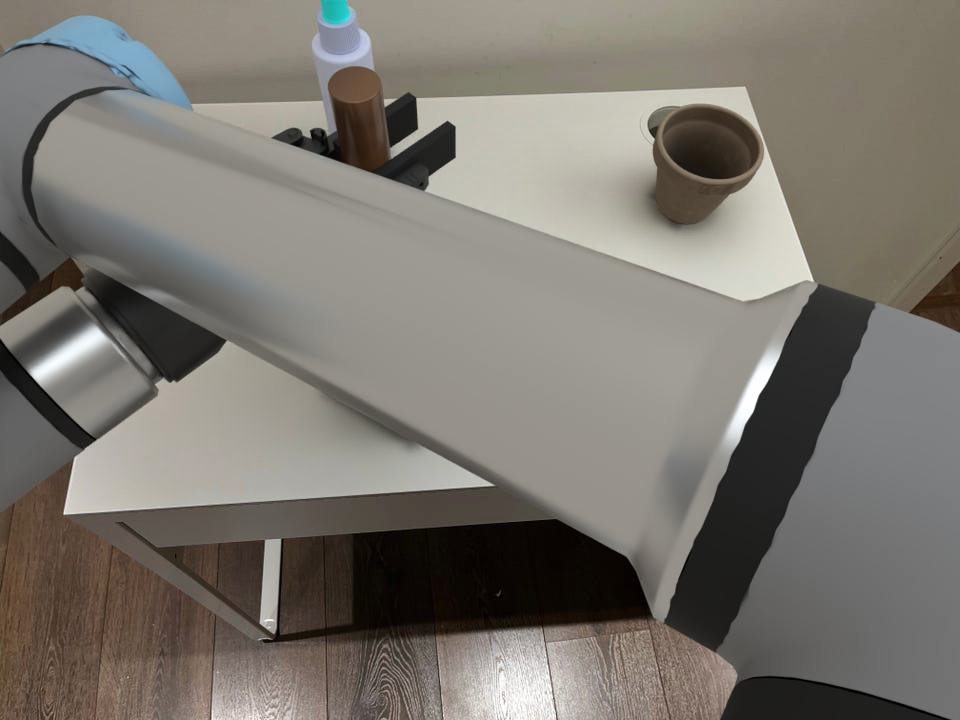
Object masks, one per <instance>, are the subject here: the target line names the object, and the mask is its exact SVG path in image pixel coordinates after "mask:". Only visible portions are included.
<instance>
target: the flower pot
mask: <svg viewBox="0 0 960 720" xmlns="http://www.w3.org/2000/svg"><path fill="white" fill-rule="evenodd" d="M764 157H765V146H764V142H763V139H762V137H761V135H760V133H759V132H758V130H757V128H756V127H755V126H754V125H753V124H752V123H751V122H750V121H748V120H747V119H746V118H745V117H743V116H742V115H740V114H739V113H737V112H736V111H734V110H732V109H729V108H726V107H723V106H720V105H716V104H711V103H690V104H685V105H682V106H679V107H676V108H675V109H673V110H671V111H669V112H668V113H667V114H666V115H665V116H664V117H663V119H662V120H661V121H660V123H659V124H658V127H657V130H656V134H655V137H654V140H653V143H652V158H653V162H654V164H655V166H656V176H655V177H656V179H655V202H656V205H657V207H658V210H659V211H660V212H661V214H663V216H665V218H667V219H668V220H671V221H673V222H674V223H675V222H676V223H677V224H684V225H692V224H693V225H694V224H697V223H700V222H702V221H704V220H705V219H706V218H708V217H709V216H710V215H711V214H712V213H713V212H714V211H715V210H716V209H717V208H718V207H719V206H721V205H722V203H723V202H724V201H725V200H726V199H728V197H729V196H730V195H733V194H735V193H738V192H739V191H741V190H742V189H744V188H745V187H747V186H748V184H750V182H751V181H752V180H753V178H754V177H755V175H756V173H757V172H758V170H759V169H760V167H761V165H762V163H763V161H764Z"/></svg>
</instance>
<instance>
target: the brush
mask: <svg viewBox="0 0 960 720" xmlns="http://www.w3.org/2000/svg"><path fill="white" fill-rule="evenodd" d="M374 71H375V70H374ZM374 71H373V70H371V69H369V68H366V67H362V66H351V67H346V68H343V69H340V70H338V71H337V72H335V73H334V74H333V75H332V76H331V78H330V79H329V82H328V92H329V97H330V102H331V106H332V111H333V116H334V120H335V125H336V130H337V135H338V139H339V144H340V149H341V153H342V158H343V163H344V164H347V165H350V166H353V167H356V168H359V169H362V170H365V171H367V172H370V173H372V172H373V171H374V170H376V169H377V168H379V167H381V166H382V165H384V164H385V163H386V162H388V161H389V160H391V159H392V155H391V148H390V145H389V137H388V130H387V122H386V114H385V107H386V106H385V100H384V92H383V91H384V90H383V84H382V79H381V77H380V75H379V74H378V73H377V72H376V71H375V72H374Z"/></svg>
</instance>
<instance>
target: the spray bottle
mask: <svg viewBox="0 0 960 720" xmlns="http://www.w3.org/2000/svg"><path fill="white" fill-rule="evenodd" d="M320 6H321V8H320V9H319V10H318V11H317V14H316V22H317V28H318V32H317V33H316V34H315V35H314V37H313V38H312V41H311V51H312V56H313V62H314V67H315V71H316V76H317V81H318V85H319V90H320V94H321V99H322V104H323V108H324V109H323V110H324V113H325V118H326V123H327V127H328V132H329V133H328V134H329V135H330V134H332V133H334V132H335V131H337V130H336V125H335V120H334V116H333V111H332V106H331V102H330V97H329V92H328V82H329V79H330V78H331V76H332V75H333V74H334V73H335V72H337V71H338V70H340V69H343V68H346V67H351V66H362V67H366V68H369V69H371V70H373V71H374V72H376V71H375V64H374V56H373V48H372V40H371V38H370V36H369V34H368V33H367V32H366V31H365V30H363V29H362V28H360V27H359V22H358V19H357V18H358V17H357V13H356V11H355V9H354V8H353V7H352V6H350V5H349V3H348V0H320Z"/></svg>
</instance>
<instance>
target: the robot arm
mask: <svg viewBox="0 0 960 720" xmlns="http://www.w3.org/2000/svg"><path fill="white" fill-rule="evenodd" d="M417 101H418V99H417V96H415V95H414V94H412V93H411V92H409V91H407V92H406V93H405V94H403V95H401V96H400V97H398V98H397V99H395V100H394V101H392V102H391V103H389V104H388V105H386V106H385V114H386V122H387V130H388V137H389V145H390V149H392V148H393V147H394V146H396V145H397V144H398V143H399V144H400V142H402V141H404V140H405V139H406V138H407V137H410V136H411V135H412V134H414V133H415V132H416V131H418V130H419V118H418V102H417ZM309 135H310V137H308V136H306V135H304V133H303V131H302V129H300V128H297V127H289V128H287V129H285V130H283V131H281V132H279V133H277V134H275V135H274V136H271V137H268V136H266V135H263V134H261V133H257V132H254V131H252V130H248V129H245V128H243V127H240V126H237V125H234V124H231V123H228V122H226V121H223V120H220V119H217V118H213V117H211V116H209V115H206V114H202V113H199V112H197V111H194V108H193V105H192V102H191V101H190V99H189V98H188V96H187V94H186V92H185V90H184V89H183V87H182V86H181V85H180V83H179V81H178V80H177V78H176V77H175V76H174V74H173V72H171V70H169V68H168V66H166V65H165V64H164V62H163V61H162V60H161V59H160V58H159V57H158V56H157V55H156V53H155V52H153V51H152V49H150V48H149V47H148V46H147V45H145V43H142V42H141V41H139V40H133V38H131V36H129V34H128V33H127V31H126V30H125V29H124V28H123V27H121V26H120V25H118V24H117V23H114V22H112V21H111V20H108V19H105V18H102V17H99V16H95V15H76V16H73V17H70V18H67V19H66V20H64V21H62V22H59V23H58V24H56V25H54V26H52V27H50V28H49V29H47V30H45V31H43V32H41V33H39V34H37V35H35V36H34V37H31V38H27V39H23V40H20V41H18V42H16V43H15V44H13V46H11V47H9V48H7V49H6V50H5V51H4V52H3V53H2V54H1V56H0V315H1V314H3V313H4V312H5V311H6V310H7V309H9V308H10V307H11V306H12V305H13V304H15V303H16V302H17V301H18V300H20V299H21V298H22V297H23V296H24V295H26V294H27V293H28V292H30V291H31V290H32V289H33V288H34V287H35V286H37V285H38V284H39V283H41V282H42V281H43V280H44V279H45V278H47V277H48V276H49V275H50V274H51V273H53V271H55V270H56V269H57V268H59V267H60V266H61V265H62V264H63V263H65V262H66V261H67V260H68V259H69V258H73V259H74V260H76V261H80V262H81V263H83V264H85V265H87V266H89V267H90V268H89V269H88V270H86V271H84V272H83V273H82V274H83V276H84V277H82V278H81V279H80V281H81V283H82V284H83V286H81V287H80V288H79V289H77V290H74V289H72V287H70V286H66V285H65V286H64V285H62V286H60V287H59V288H57V289H55V290H54V291H53V292H51V293H49V294H47V295H46V296H45V297H43V298H42V299H40V300H39V301H37V302H35V303H34V304H32V305H31V306H28V308H26V309H24V310H23V311H21V312H20V313H18V314H16V315H15V316H13V317H12V318H11V319H10V318H9V320H7V321H5V322H4V323H3V324H1V325H0V514H2V513H3V512H4V511H5V510H7V509H8V508H9V507H11V506H12V505H13V504H15V503H16V502H17V501H18V500H20V499H21V498H23V497H24V496H26V495H27V494H28V493H29V492H31V491H32V490H33V489H34V488H37V487H38V486H39V485H40V484H41V483H43V482H44V481H45V480H47V479H48V478H50V477H51V476H52V475H54V474H55V473H57V471H59V470H60V469H62V468H63V467H64V466H65V465H66V464H68V463H69V462H71V461H72V460H73V459H74V458H76V457H77V456H79V455H80V454H81V453H83V452H84V451H85V450H86V449H87V448H88V447H89V446H91V445H92V444H93V443H95V442H96V441H98V440H100V439H101V438H102V437H104V436H105V435H106V434H108V433H109V432H111V431H112V430H113V429H115V428H116V427H117V426H119V425H120V424H122V423H123V422H125V421H126V420H127V419H128V418H130V417H131V416H133V415H134V414H135V413H137V412H138V411H140V410H141V409H142V408H143V407H145V406H146V405H148V404H149V403H151V401H154V399H156V398H157V397H158V396H159V391H160V390H159V388H158V386H157V385H156V384H157V383H159V382H161V381H162V380H163V379H164V380H166V382H167V383H169V384H171V383H173V382H175V383H176V384H178V383H179V382H181V380H183V379H185V378H186V377H187V376H189V375H190V374H191V373H193V372H194V371H195V370H197V369H198V368H200V367H201V366H202V365H203V364H205V363H206V362H208V361H209V360H210V359H212V358H213V357H215V356H216V355H217V354H219V353H220V351H221V350H222V349H223V347H224V345H225V344H226V343H227V342H228V343H231V344H232V345H235V346H237V347H239V348H240V349H242V350H244V351H246V352H248V353H249V354H251V355H253V356H255V357H257V358H259V359H261V360H262V361H265V362H266V363H268V364H270V365H272V366H274V367H275V368H277V369H279V370H281V371H283V372H285V373H287V374H288V375H290V376H292V377H294V378H296V379H298V380H299V381H301V382H303V383H305V384H307V385H309V386H311V387H313V388H314V389H316V390H318V391H319V392H321V393H323V394H325V395H327V396H329V397H331V398H333V399H335V400H336V401H338V402H340V403H342V404H344V405H345V406H348V407H349V408H351V409H353V410H354V411H357V412H359V413H360V414H362V415H364V416H366V417H368V418H369V419H371V420H374V421H375V422H377V423H379V424H380V425H383V426H384V427H386V428H388V429H390V430H392V431H394V432H395V433H397V434H399V435H400V436H403V437H405V438H407V439H408V440H409V441H412V442H414V443H415V444H418V445H420V446H421V447H422V448H425V449H426V450H428V451H430V452H432V453H435V454H436V455H438V456H440V457H441V458H443V459H445V460H446V461H449V462H451V463H453V464H454V465H457V466H458V467H461V468H462V469H463V470H465V471H467V472H469V473H471V474H473V475H474V476H477V477H478V478H480V479H482V480H484V481H486V482H487V483H489V484H492V485H493V486H494V487H497V488H499V489H500V490H503V491H504V492H506V493H508V494H510V495H512V496H513V497H515V498H517V499H519V500H521V501H522V502H525V503H526V504H528V505H530V506H532V507H534V508H535V509H538V510H539V511H541V512H543V513H545V514H547V515H549V516H550V517H552V518H554V519H556V520H558V521H559V522H561V523H563V524H565V525H567V526H569V527H571V528H573V529H574V530H576V531H578V532H580V533H581V534H584V535H586V536H587V537H589V538H591V539H593V540H595V541H596V542H598V543H600V544H602V545H603V546H606V547H608V548H609V549H611V550H613V551H615V552H617V553H619V554H621V555H623V556H624V557H625V558H627V560H628V561H629V563H630V564H631V566H632V567H633V569H634V571H635V572H636V575H637V577H638V580H639V583H640V586H641V589H642V591H643V594H644V597H645V599H646V602H647V605H648V607H649V611H650V613H651V615H652V617H653V619H656V620H657V621H659V622H660V623H662V624H664V625H666V626H667V627H669V628H671V629H673V630H674V631H676V632H677V633H679V634H681V635H683V636H685V637H687V638H688V639H690V640H692V641H694V642H695V643H697V644H699V645H701V646H703V647H704V648H706V649H707V650H710V651H711V652H713V653H715V654H717V655H718V656H719V657H721V658H722V659H723V660H724V661H726V662H727V663H728V664H729V665H730V666H732V668H733V669H734V671H735V673H736V680H735V683H734V686H733V688H732V690H731V692H730V695H729V697H728V700H727V702H726V704H725V707H724V708H723V711H722V714H721V716H720V718H719V720H960V332H959V331H956V330H954V329H952V328H950V327H948V326H946V325H943V324H942V323H939V322H936V321H934V320H931V319H928V318H925V317H922V316H919V315H916V314H914V313H913V314H912V313H910V312H907V311H904V310H901V309H898V308H895V307H892V306H889V305H886V304H883V303H880V302H876V301H874V300H871V299H868V298H865V297H862V296H858V295H855V294H852V293H849V292H846V291H843V290H841V289H840V290H839V289H837V288H834V287H831V286H828V285H824V284H821V283H819V282H815V281H811V280H808V279H805V280H802V281H800V282H797V283H794V284H792V285H790V286H787V287H785V288H782V289H780V290H777V291H774V292H772V293H770V294H769V293H768V294H767V295H764V296H761V297H759V298H754V299H748V300H740V299H738V298H734V297H731V296H729V295H727V294H723V293H720V292H717V291H714V290H711V289H708V288H706V287H703V286H699V285H697V284H694V283H691V282H688V281H685V280H682V279H680V278H677V277H674V276H671V275H668V274H665V273H663V272H659V271H657V270H653V269H651V268H649V267H645V266H642V265H639V264H636V263H634V262H631V261H627V260H624V259H622V258H620V257H616V256H614V255H610V254H607V253H605V252H601V251H599V250H597V249H593V248H589V247H588V246H584V245H581V244H579V243H575V242H572V241H570V240H567V239H564V238H561V237H558V236H555V235H552V234H549V233H547V232H544V231H541V230H538V229H535V228H532V227H529V226H526V225H523V224H521V223H518V222H514V221H512V220H509V219H506V218H504V217H501V216H498V215H495V214H492V213H490V212H489V213H488V212H485V211H482V210H480V209H477V208H475V207H472V206H468V205H465V204H463V203H460V202H457V201H454V200H451V199H448V198H446V197H443V196H439V195H436V194H434V193H432V192H429V191H426V190H427V188H428V187H429V185H430V179H429V178H430V177H431V176H432V175H434V174H435V173H436V172H438V171H439V170H440V169H442V168H443V167H445V166H446V165H447V164H449V163H450V162H452V161H453V160H454V159H457V127H456V125H454V124H453V123H452V122H450V121H449V120H446V121H445V122H443V123H441V124H440V125H439V126H437V127H436V128H434V129H432V131H430V132H429V133H427V134H425V135H424V136H423V137H421V138H420V139H419V140H417V141H415V142H414V143H412V144H411V145H410V146H408V147H406V148H405V149H403V150H402V151H401V152H399V153H398V154H396V155H395V156H394V157H391V160H389V161H388V162H386V163H385V164H384V165H382V166H381V167H379V168H377V169H376V170H374V171H373V172H372V173H370V172H367V171H365V170H362V169H359V168H356V167H353V166H350V165H347V164H344V163H343V158H342V153H341V149H340V144H339V139H338V135H337V131H335V132H334V133H332V134H330V133H329V135H328V134H327V131H326V130H325V129H324V128H322V127H314V128H311V129H309Z"/></svg>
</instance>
